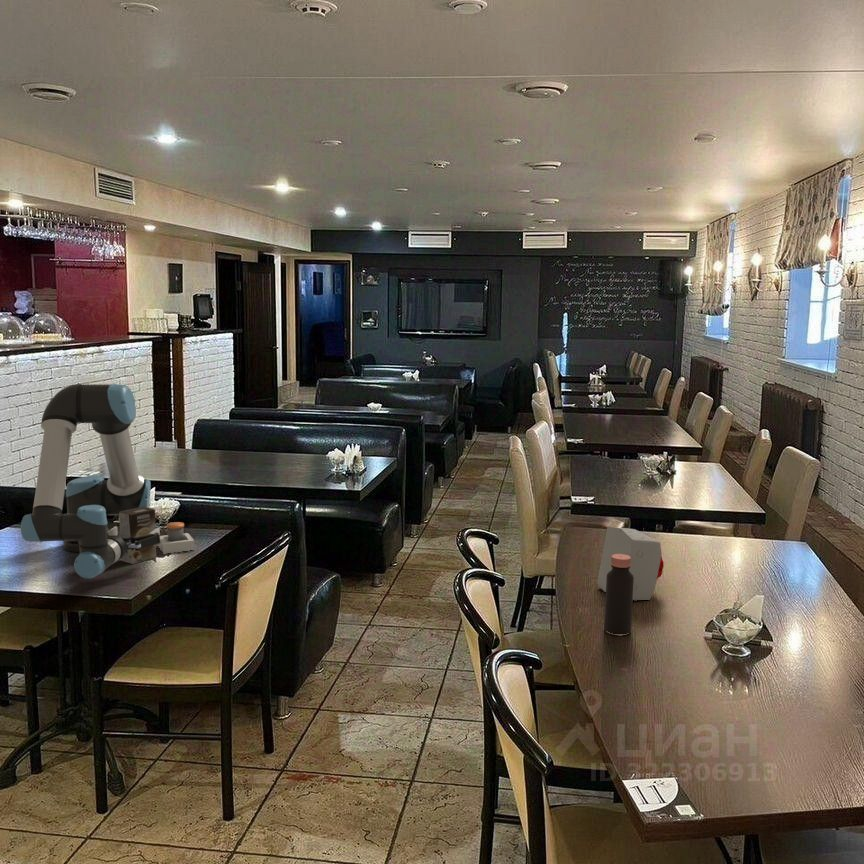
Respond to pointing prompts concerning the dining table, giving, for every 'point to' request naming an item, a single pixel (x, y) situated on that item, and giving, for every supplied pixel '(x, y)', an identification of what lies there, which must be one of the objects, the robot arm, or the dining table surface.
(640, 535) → the electrical switch box
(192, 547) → the breaker housing
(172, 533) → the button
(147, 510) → the coffee box
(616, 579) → the bottle
